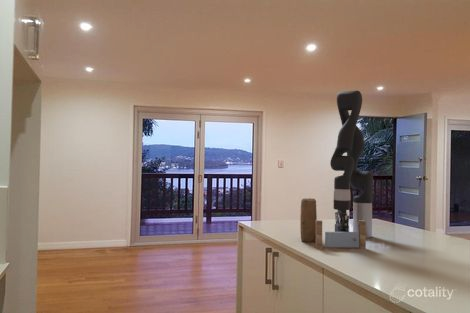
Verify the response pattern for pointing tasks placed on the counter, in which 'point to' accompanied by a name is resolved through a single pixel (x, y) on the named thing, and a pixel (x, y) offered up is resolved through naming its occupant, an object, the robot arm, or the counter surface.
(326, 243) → the door
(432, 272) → the counter surface
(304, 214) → the brown bread loaf
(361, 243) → the frame
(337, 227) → the gray rectangular block
